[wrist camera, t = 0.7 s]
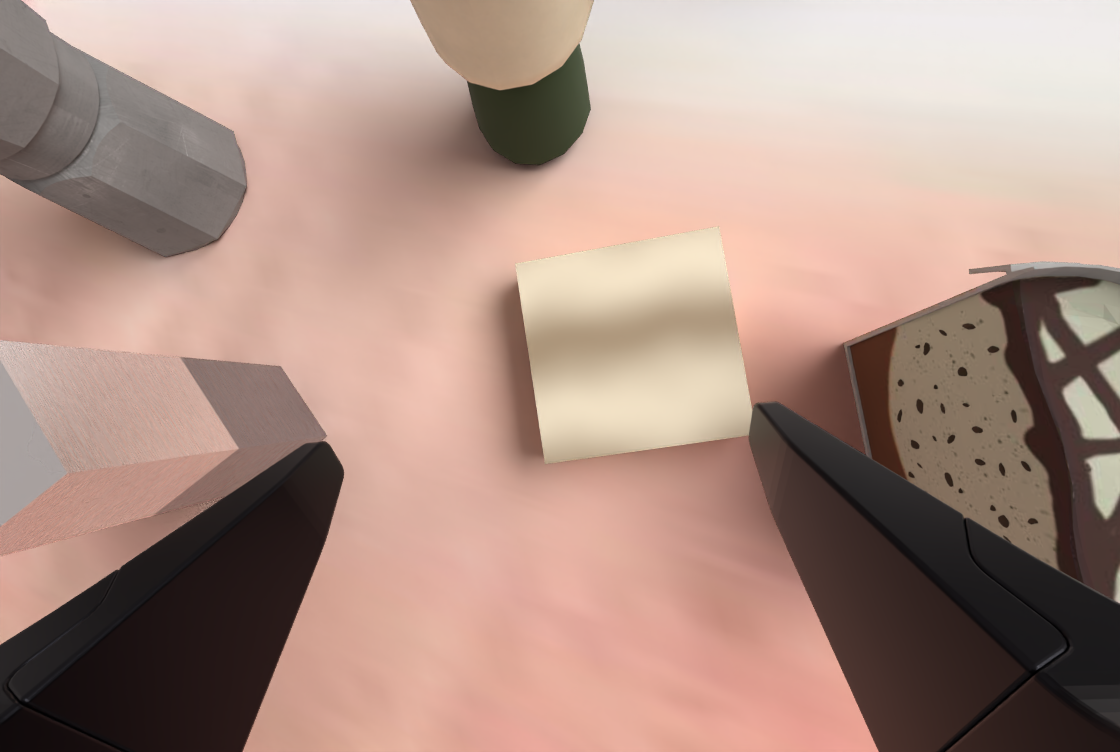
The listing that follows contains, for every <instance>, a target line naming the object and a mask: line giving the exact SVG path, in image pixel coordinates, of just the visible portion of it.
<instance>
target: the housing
mask: <svg viewBox="0 0 1120 752" xmlns="http://www.w3.org/2000/svg"><path fill="white" fill-rule="evenodd" d="M326 436H327V435H326V434H325V432H324V431H323V429H322V428H321V426H320V425H319V423H318V422H317V420H316V419H315V417H314V416H313V414H312V413H311V411H310V410H309V408H308V407H307V405H306V404H305V402H304V401H303V399H302V398H301V396H300V395H299V393H298V392H297V390H296V389H295V387H294V386H293V384H292V383H291V381H290V380H289V378H288V377H287V375H286V374H285V372H284V371H283V369H282V368H281V366H270V365H260V364H249V363H238V362H227V361H217V360H206V359H195V358H184V357H174V356H163V355H152V354H141V353H131V352H120V351H109V350H99V349H88V348H77V347H66V346H56V345H45V344H34V343H23V342H13V341H2V340H0V556H4V555H8V554H12V553H15V552H19V551H23V550H27V549H30V548H34V547H38V546H42V545H45V544H49V543H53V542H57V541H60V540H64V539H68V538H72V537H76V536H79V535H83V534H87V533H91V532H94V531H98V530H102V529H106V528H109V527H113V526H117V525H121V524H124V523H128V522H132V521H136V520H139V519H143V518H147V517H151V516H154V515H158V514H162V513H166V512H169V511H173V510H177V509H181V508H184V507H188V506H192V505H196V504H199V503H203V502H207V501H211V500H214V499H218V498H222V497H226V496H227V495H229V494H230V493H232V492H233V491H235V490H236V489H238V488H239V487H241V486H242V485H244V484H245V483H247V482H248V481H250V480H251V479H253V478H254V477H255V476H257V475H258V474H260V473H261V472H263V471H264V470H266V469H267V468H269V467H270V466H272V465H273V464H275V463H276V462H278V461H279V460H281V459H282V458H284V457H285V456H287V455H288V454H290V453H291V452H293V451H294V450H296V449H297V448H299V447H300V446H302V445H303V444H305V443H308V442H318V441H321V440H322V439H324V438H325V437H326Z"/></svg>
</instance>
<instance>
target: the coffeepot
mask: <svg viewBox="0 0 1120 752" xmlns="http://www.w3.org/2000/svg"><path fill="white" fill-rule="evenodd" d="M0 174H1V175H3V176H5V177H6V178H8V179H10V180H11V181H13V182H15V183H17V184H19V185H21V186H22V187H24V188H26V189H28V190H30V191H32V192H34V193H36V194H38V195H40V196H42V197H44V198H46V199H48V200H50V201H52V202H54V203H56V204H58V205H60V206H63V207H65V208H67V209H69V210H71V211H73V212H75V213H77V214H79V215H81V216H83V217H85V218H87V219H89V220H91V221H93V222H95V223H97V224H99V225H101V226H103V227H105V228H107V229H109V230H111V231H113V232H115V233H117V234H119V235H121V236H123V237H126V238H128V239H130V240H132V241H134V242H136V243H138V244H140V245H142V246H144V247H146V248H148V249H150V250H152V251H154V252H156V253H158V254H160V255H162V256H164V257H167V256H171V255H175V254H180V253H184V252H188V251H193V250H197V249H199V248H201V247H203V246H206V245H208V244H209V243H211V242H212V241H214V240H217V239H218V238H219V237H220V236H221V235H222V234H223V233H224V232H225V230H226V229H227V228H228V227H229V226H230V224H231V223H232V221H233V220H234V218H235V217H236V215H237V213H238V211H239V209H240V206H241V204H242V201H243V197H244V193H245V189H246V187H247V180H246V169H245V162H244V159H243V156H242V153H241V150H240V148H239V147H238V145H237V143H236V139H235V135H234V131H232V130H230V129H228V128H226V127H225V126H223V125H221V124H219V123H217V122H215V121H213V120H211V119H210V118H208V117H206V116H204V115H202V114H200V113H198V112H197V111H195V110H193V109H191V108H189V107H187V106H185V105H183V104H181V103H179V102H178V101H176V100H174V99H172V98H170V97H168V96H166V95H164V94H162V93H160V92H158V91H157V90H155V89H153V88H151V87H149V86H147V85H145V84H143V83H141V82H139V81H138V80H136V79H134V78H132V77H130V76H128V75H126V74H124V73H122V72H120V71H119V70H117V69H115V68H113V67H111V66H109V65H107V64H105V63H103V62H101V61H100V60H98V59H96V58H94V57H92V56H90V55H88V54H86V53H84V52H83V51H81V50H79V49H77V48H75V47H73V46H71V45H70V44H68V43H67V42H65V41H64V40H62V39H60V38H59V37H57V36H56V35H54V34H53V33H51V32H50V31H49V28H48V26H47V23H46V20H45V19H43V18H42V17H41V16H40V15H39V14H37V13H36V12H35V11H34V10H32V9H31V8H30V7H29V6H28V5H26V4H25V3H24V2H23V1H21V0H0Z"/></svg>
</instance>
